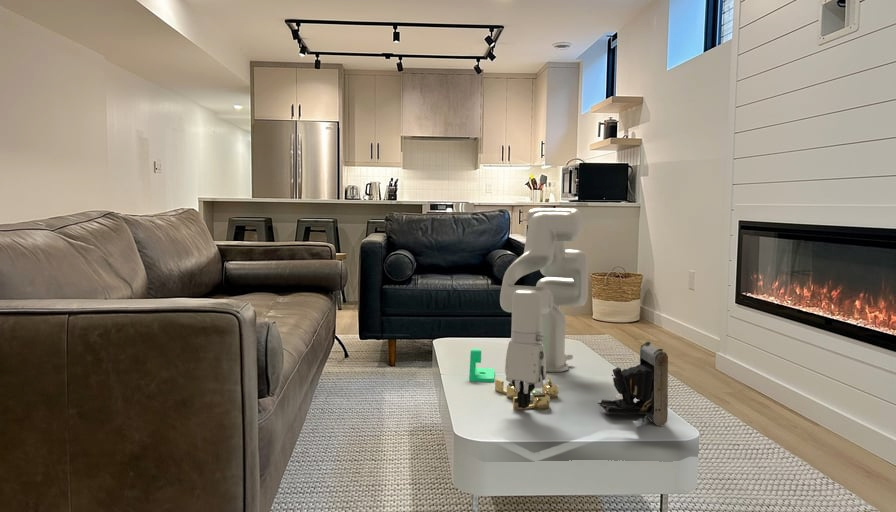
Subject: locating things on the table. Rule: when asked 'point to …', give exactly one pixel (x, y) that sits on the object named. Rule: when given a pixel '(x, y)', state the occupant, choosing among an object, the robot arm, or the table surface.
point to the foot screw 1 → (510, 390)
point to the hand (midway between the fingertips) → (523, 406)
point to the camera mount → (479, 373)
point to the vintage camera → (642, 387)
